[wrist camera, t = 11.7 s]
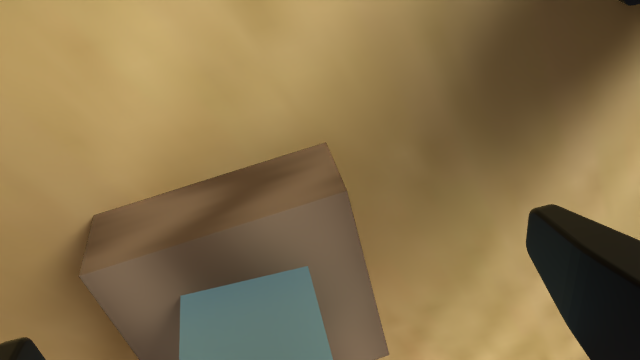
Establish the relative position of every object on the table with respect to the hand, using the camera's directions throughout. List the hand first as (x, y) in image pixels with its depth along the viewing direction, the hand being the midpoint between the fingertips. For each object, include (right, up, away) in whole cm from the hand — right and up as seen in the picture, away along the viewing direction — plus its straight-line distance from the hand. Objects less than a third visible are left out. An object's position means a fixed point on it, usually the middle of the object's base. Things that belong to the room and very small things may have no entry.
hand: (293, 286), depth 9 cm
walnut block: (-3, -2, +16) cm, 16 cm away
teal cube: (-2, -4, +12) cm, 13 cm away
